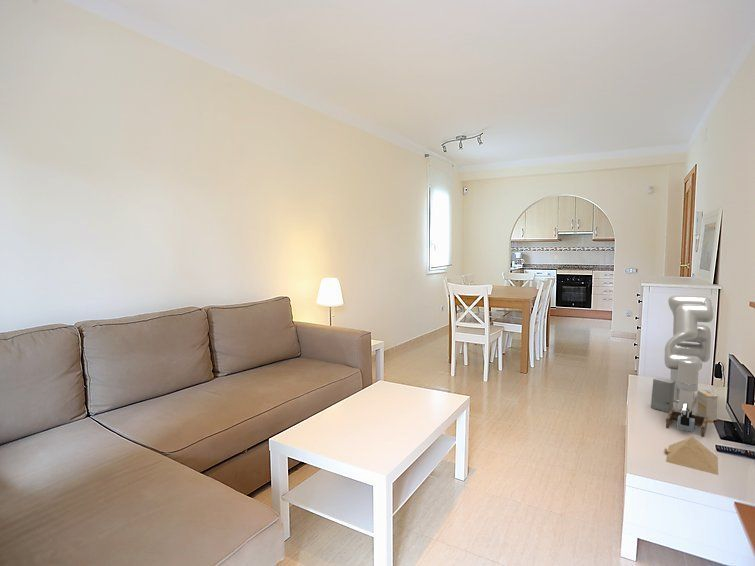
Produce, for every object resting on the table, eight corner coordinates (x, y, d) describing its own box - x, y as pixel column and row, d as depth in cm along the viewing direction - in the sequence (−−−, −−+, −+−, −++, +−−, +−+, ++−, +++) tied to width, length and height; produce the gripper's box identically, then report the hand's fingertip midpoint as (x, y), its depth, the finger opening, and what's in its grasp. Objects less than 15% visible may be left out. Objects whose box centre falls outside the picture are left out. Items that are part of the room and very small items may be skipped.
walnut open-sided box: (670, 418, 199) (670, 410, 198) (707, 426, 189) (707, 417, 189) (665, 428, 189) (666, 418, 189) (704, 437, 180) (704, 427, 179)
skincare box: (650, 408, 212) (651, 378, 210) (655, 404, 216) (656, 375, 215) (669, 413, 205) (670, 382, 204) (674, 409, 209) (675, 379, 208)
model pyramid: (666, 445, 174) (666, 423, 173) (718, 457, 163) (719, 434, 162) (662, 462, 161) (663, 438, 161) (719, 476, 150) (720, 451, 150)
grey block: (678, 425, 192) (679, 415, 191) (694, 429, 188) (695, 418, 187) (677, 428, 188) (677, 418, 188) (693, 432, 184) (693, 421, 184)
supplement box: (717, 422, 193) (718, 396, 192) (706, 422, 194) (707, 395, 193) (707, 415, 201) (708, 389, 200) (696, 415, 202) (697, 389, 201)
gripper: (680, 379, 195) (679, 414, 196) (674, 388, 182) (673, 425, 184) (699, 382, 190) (698, 418, 191) (695, 392, 177) (694, 430, 179)
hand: (686, 421), depth 187 cm, fingers open, 9 cm apart
